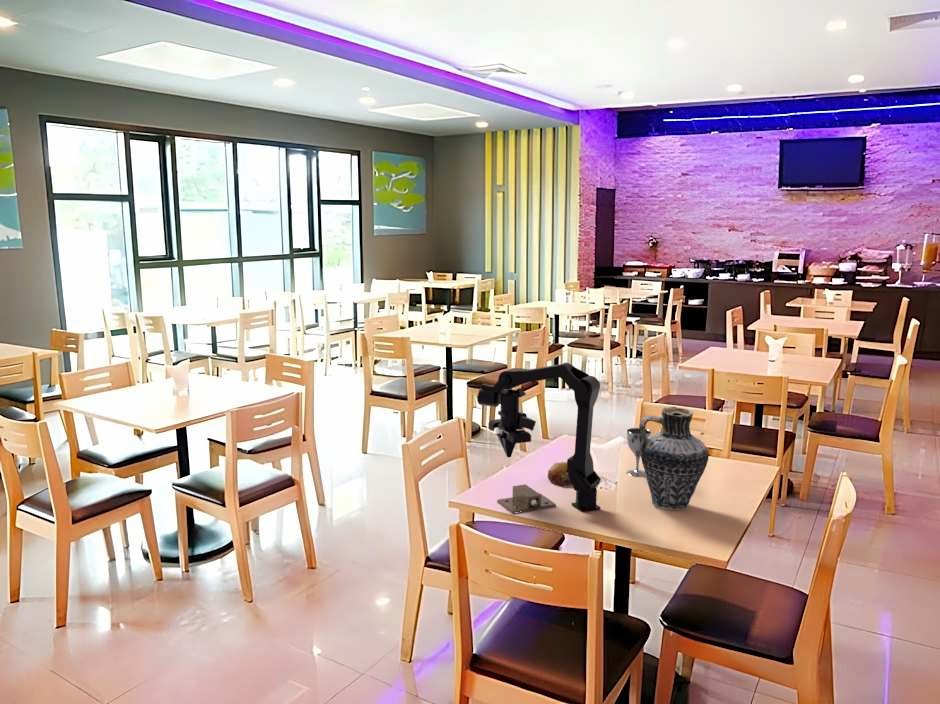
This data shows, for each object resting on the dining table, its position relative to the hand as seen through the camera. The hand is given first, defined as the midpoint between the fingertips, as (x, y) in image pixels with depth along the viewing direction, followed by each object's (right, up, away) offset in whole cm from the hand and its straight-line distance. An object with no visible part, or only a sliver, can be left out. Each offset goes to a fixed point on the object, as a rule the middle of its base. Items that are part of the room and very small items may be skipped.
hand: (508, 457), depth 239 cm
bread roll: (+19, -10, +13) cm, 25 cm away
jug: (+48, -14, -10) cm, 51 cm away
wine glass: (+45, -9, +20) cm, 50 cm away
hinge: (+5, -13, -9) cm, 17 cm away
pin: (+5, -13, -9) cm, 17 cm away
